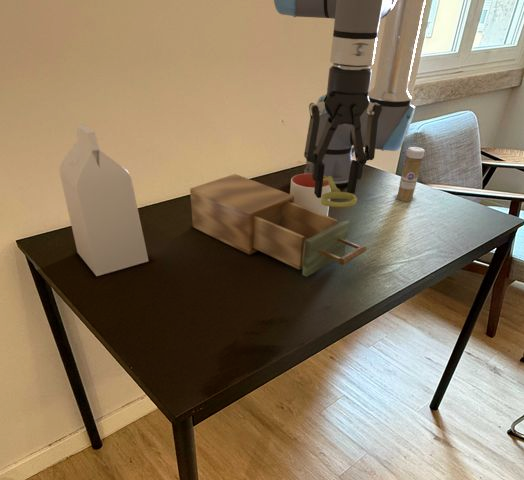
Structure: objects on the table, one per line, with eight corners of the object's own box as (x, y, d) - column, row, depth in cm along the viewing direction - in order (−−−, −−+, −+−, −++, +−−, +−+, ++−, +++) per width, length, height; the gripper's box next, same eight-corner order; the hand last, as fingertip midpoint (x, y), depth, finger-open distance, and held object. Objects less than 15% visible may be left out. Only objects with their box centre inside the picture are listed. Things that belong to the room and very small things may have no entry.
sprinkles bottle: (399, 201, 127) (410, 151, 118) (394, 195, 130) (405, 146, 122) (415, 201, 127) (427, 151, 118) (409, 195, 131) (421, 146, 122)
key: (329, 184, 100) (330, 174, 99) (360, 205, 92) (362, 195, 90) (301, 188, 98) (301, 178, 96) (329, 210, 89) (331, 200, 88)
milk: (148, 261, 97) (128, 132, 81) (96, 276, 92) (63, 141, 75) (126, 239, 105) (104, 117, 88) (77, 252, 100) (43, 125, 83)
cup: (282, 223, 114) (285, 183, 107) (295, 208, 121) (298, 170, 114) (320, 230, 111) (325, 190, 105) (331, 215, 118) (336, 177, 112)
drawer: (369, 265, 97) (376, 231, 92) (332, 289, 89) (338, 254, 84) (281, 228, 110) (283, 196, 105) (242, 246, 102) (242, 213, 97)
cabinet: (291, 234, 109) (294, 195, 103) (249, 255, 101) (250, 214, 95) (235, 210, 119) (234, 173, 113) (192, 227, 111) (189, 188, 105)
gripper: (302, 69, 75) (292, 203, 90) (411, 70, 78) (384, 200, 93) (292, 62, 81) (285, 189, 96) (394, 63, 84) (371, 186, 99)
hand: (334, 194), depth 94 cm, fingers closed on key, 6 cm apart
